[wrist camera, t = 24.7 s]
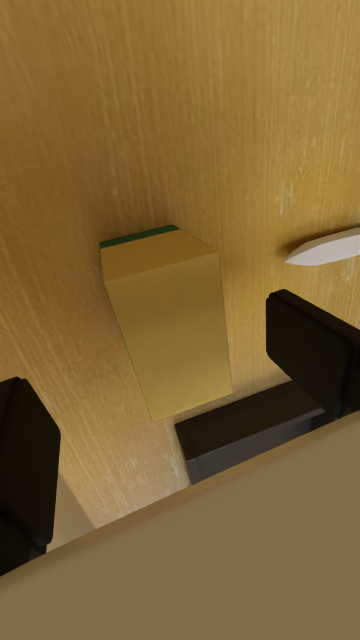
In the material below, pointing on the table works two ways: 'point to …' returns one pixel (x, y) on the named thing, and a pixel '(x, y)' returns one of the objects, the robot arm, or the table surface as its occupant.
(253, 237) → the table surface
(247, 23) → the table surface
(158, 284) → the sponge
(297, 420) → the pan
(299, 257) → the pen
